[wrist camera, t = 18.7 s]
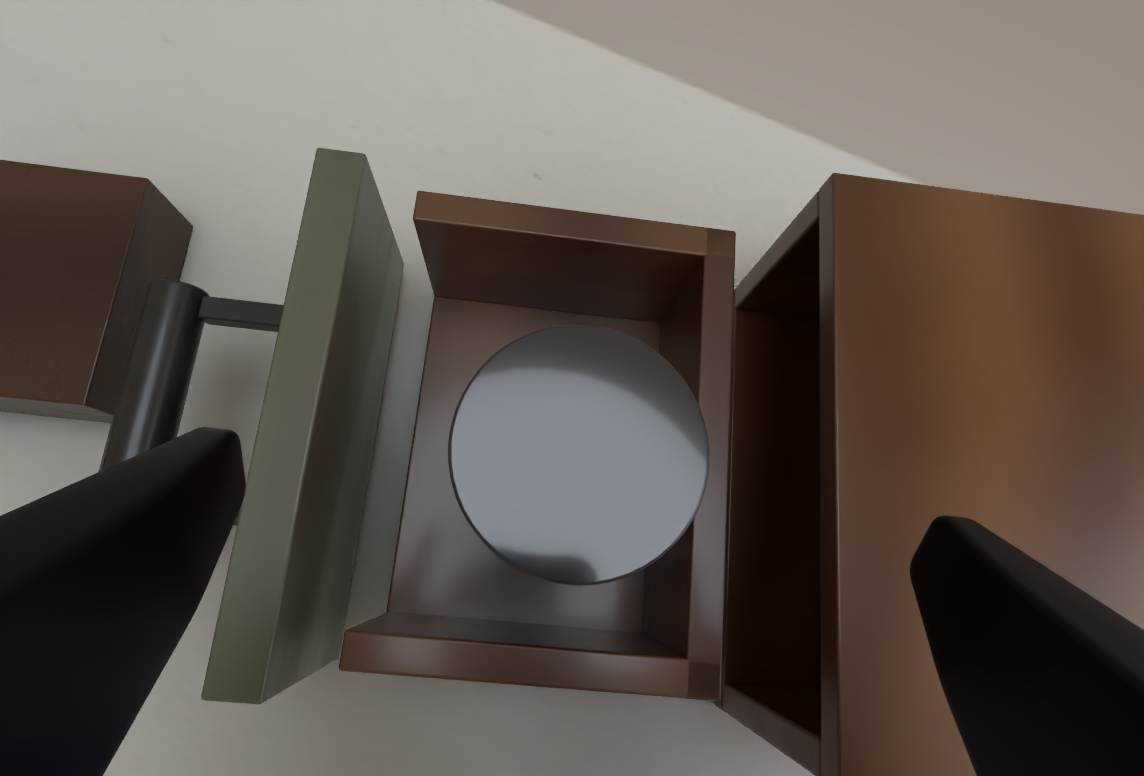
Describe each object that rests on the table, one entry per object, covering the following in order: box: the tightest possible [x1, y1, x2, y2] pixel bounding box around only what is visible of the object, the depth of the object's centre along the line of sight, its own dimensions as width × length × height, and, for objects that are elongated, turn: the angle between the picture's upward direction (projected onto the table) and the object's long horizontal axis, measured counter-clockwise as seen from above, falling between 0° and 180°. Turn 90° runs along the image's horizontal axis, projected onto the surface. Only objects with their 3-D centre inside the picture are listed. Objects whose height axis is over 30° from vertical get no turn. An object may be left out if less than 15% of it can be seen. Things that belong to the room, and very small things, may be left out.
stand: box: [0, 160, 192, 423], centre depth 20 cm, size 7×7×3 cm
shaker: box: [448, 325, 710, 586], centre depth 16 cm, size 5×5×8 cm
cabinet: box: [715, 173, 1144, 776], centre depth 19 cm, size 12×14×8 cm
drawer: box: [99, 148, 736, 704], centre depth 18 cm, size 15×12×6 cm
